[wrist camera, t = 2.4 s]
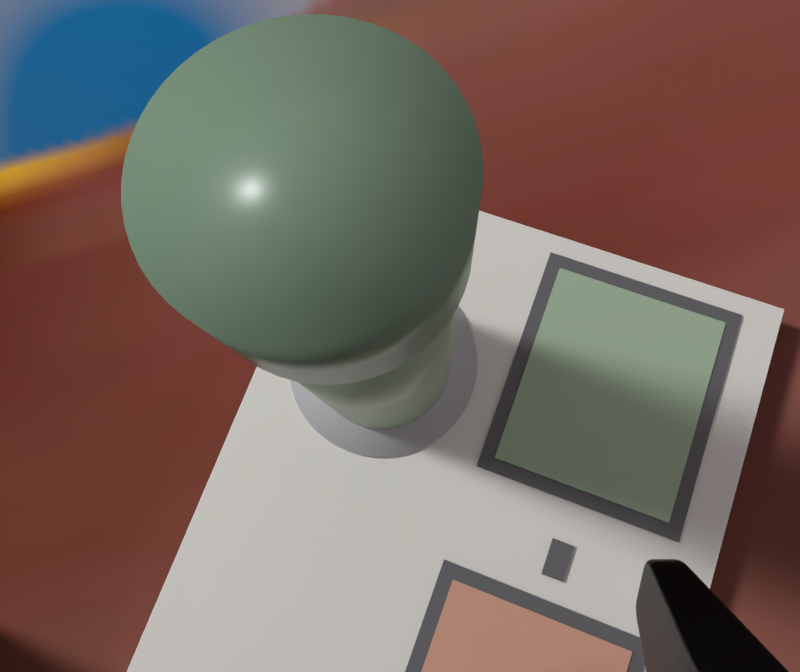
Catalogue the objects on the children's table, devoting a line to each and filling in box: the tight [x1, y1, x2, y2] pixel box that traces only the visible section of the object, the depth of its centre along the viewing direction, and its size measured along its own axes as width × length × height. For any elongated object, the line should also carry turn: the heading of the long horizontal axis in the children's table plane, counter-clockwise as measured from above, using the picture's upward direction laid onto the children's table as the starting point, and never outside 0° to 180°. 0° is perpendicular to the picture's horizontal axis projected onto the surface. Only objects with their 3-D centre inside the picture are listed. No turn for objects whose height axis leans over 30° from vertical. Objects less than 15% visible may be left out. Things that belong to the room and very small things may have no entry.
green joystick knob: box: [121, 14, 483, 429], centre depth 14 cm, size 4×4×12 cm
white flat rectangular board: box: [127, 211, 784, 672], centre depth 19 cm, size 18×14×1 cm
